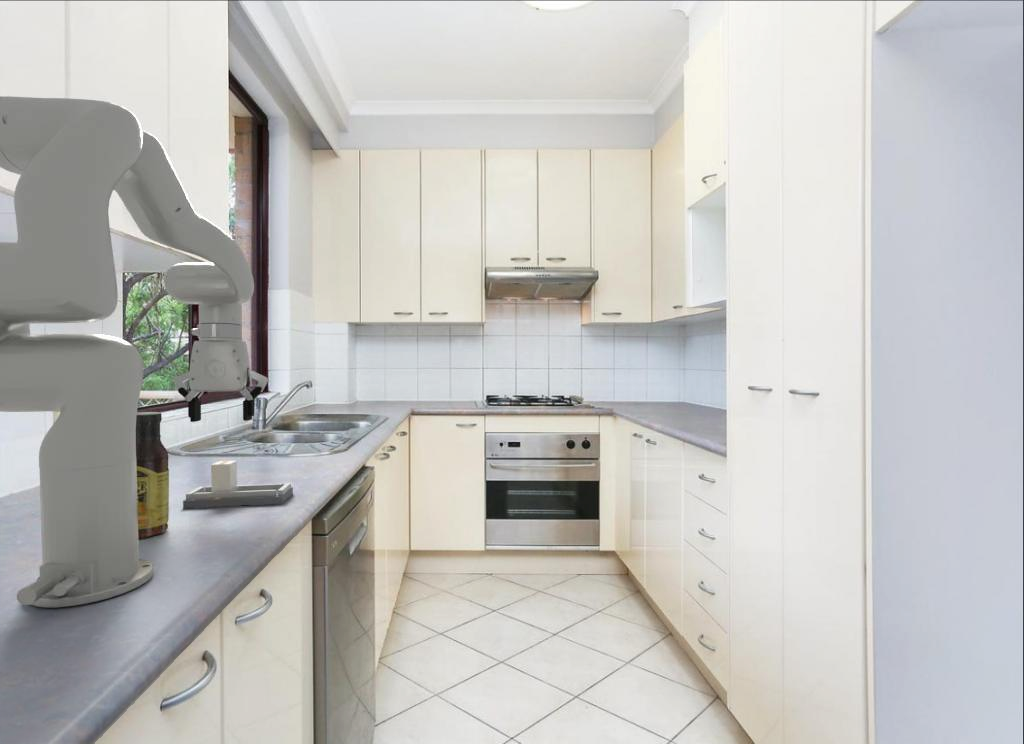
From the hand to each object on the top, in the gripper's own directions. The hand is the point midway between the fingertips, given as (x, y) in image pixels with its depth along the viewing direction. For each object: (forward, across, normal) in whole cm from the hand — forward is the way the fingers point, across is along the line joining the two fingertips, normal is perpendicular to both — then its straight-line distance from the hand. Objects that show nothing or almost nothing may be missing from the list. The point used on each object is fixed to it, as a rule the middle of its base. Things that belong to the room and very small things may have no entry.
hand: (221, 420), depth 106 cm
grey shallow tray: (+16, +3, +1) cm, 16 cm away
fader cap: (+14, 0, +1) cm, 14 cm away
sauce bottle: (+17, -5, -18) cm, 25 cm away
